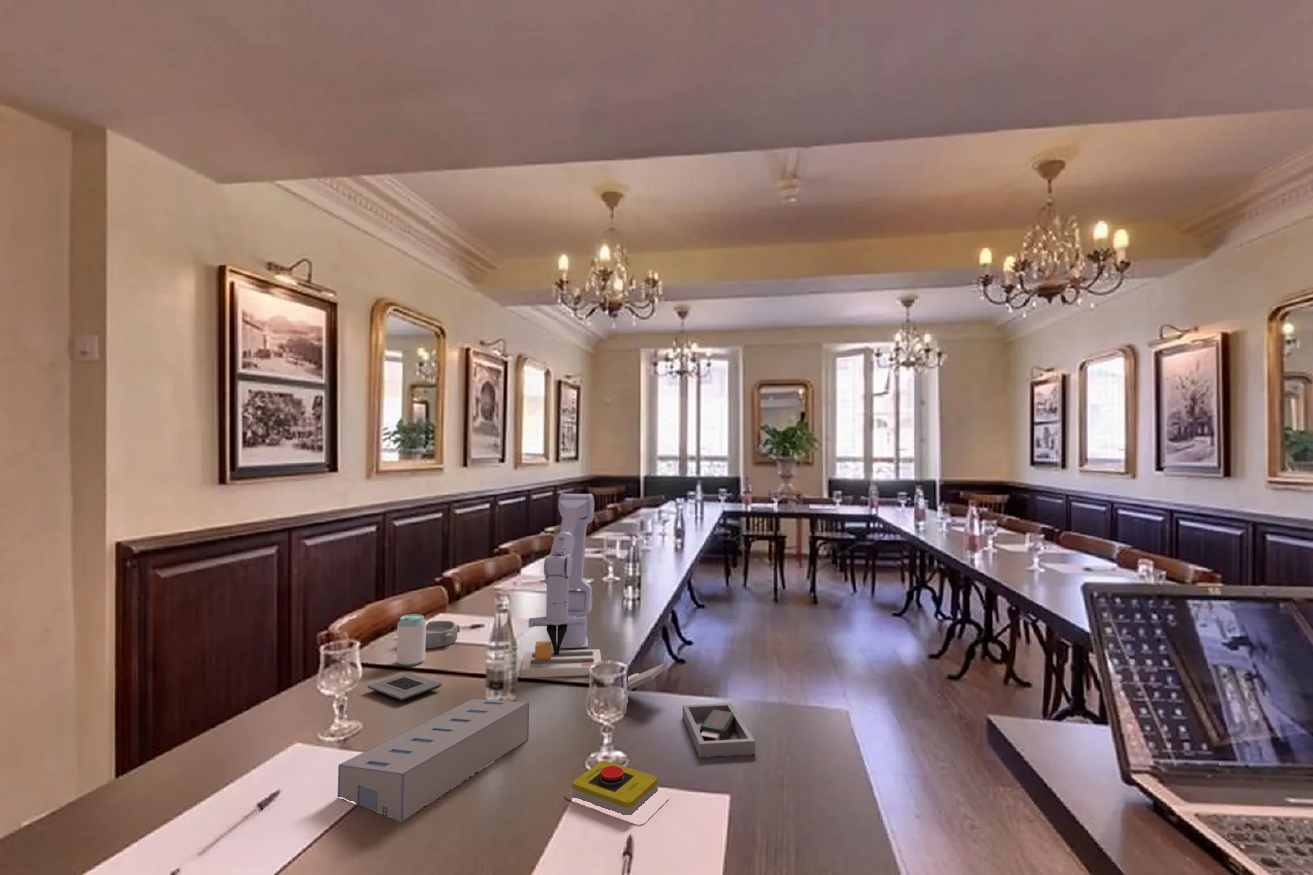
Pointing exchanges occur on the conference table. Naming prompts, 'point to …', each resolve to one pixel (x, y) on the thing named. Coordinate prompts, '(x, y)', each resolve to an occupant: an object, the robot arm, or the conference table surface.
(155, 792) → the conference table surface
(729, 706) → the desk tray
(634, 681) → the light switch
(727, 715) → the usb drive
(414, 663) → the can
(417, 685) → the electrical outlet
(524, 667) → the plate
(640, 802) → the emergency button
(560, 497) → the robot arm
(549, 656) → the orange cube
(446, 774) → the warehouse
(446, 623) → the dish
